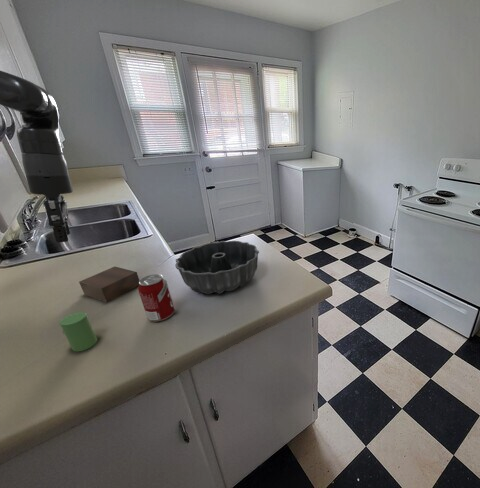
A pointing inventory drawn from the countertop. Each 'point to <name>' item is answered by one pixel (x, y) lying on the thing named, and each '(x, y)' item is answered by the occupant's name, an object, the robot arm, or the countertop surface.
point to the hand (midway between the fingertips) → (63, 238)
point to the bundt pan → (218, 266)
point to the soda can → (156, 297)
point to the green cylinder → (78, 331)
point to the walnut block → (110, 283)
